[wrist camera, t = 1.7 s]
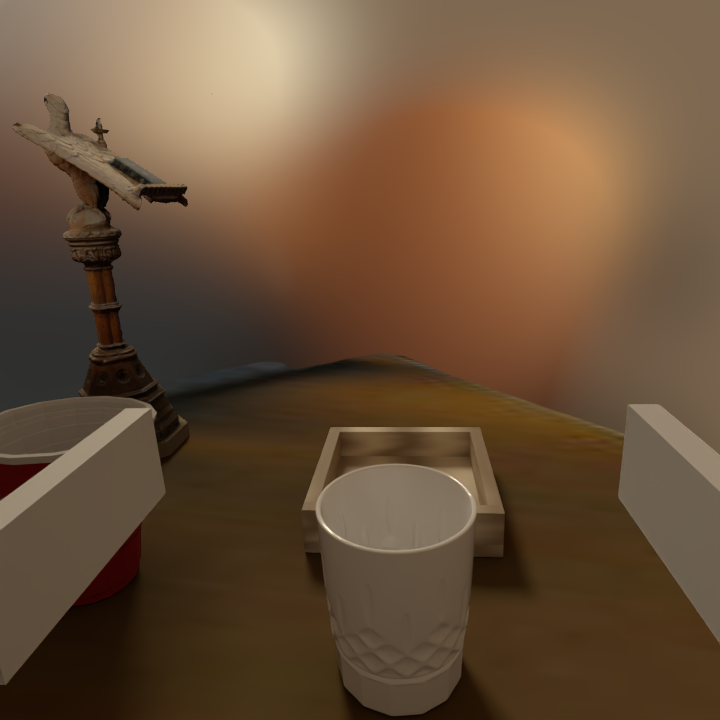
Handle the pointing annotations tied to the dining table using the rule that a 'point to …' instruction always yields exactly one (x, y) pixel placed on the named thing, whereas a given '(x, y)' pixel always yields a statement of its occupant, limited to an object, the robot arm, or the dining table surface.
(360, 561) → the white cup
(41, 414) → the plastic cup
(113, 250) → the bird statue
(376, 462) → the birch crate
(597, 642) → the dining table surface
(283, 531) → the dining table surface
